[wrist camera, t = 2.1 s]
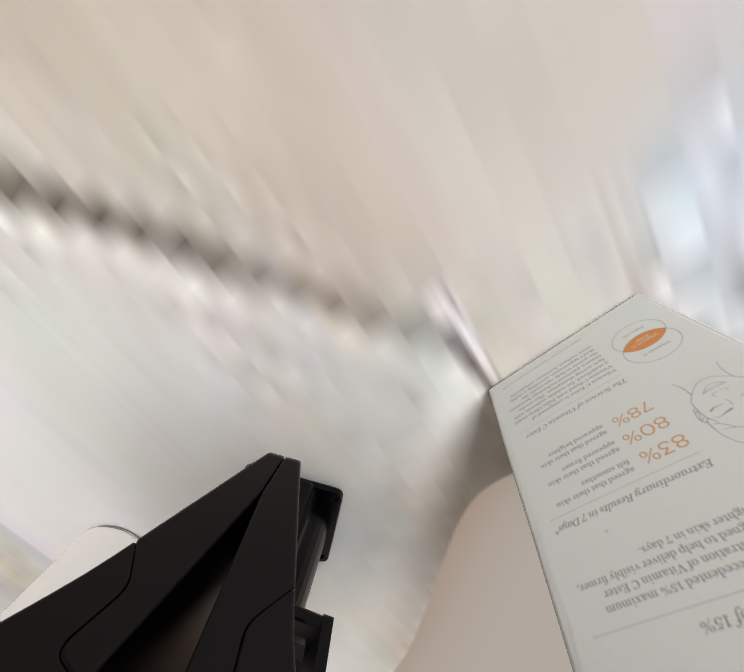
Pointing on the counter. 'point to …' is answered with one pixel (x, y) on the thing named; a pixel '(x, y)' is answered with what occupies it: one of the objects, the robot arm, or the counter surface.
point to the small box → (636, 488)
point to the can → (74, 563)
